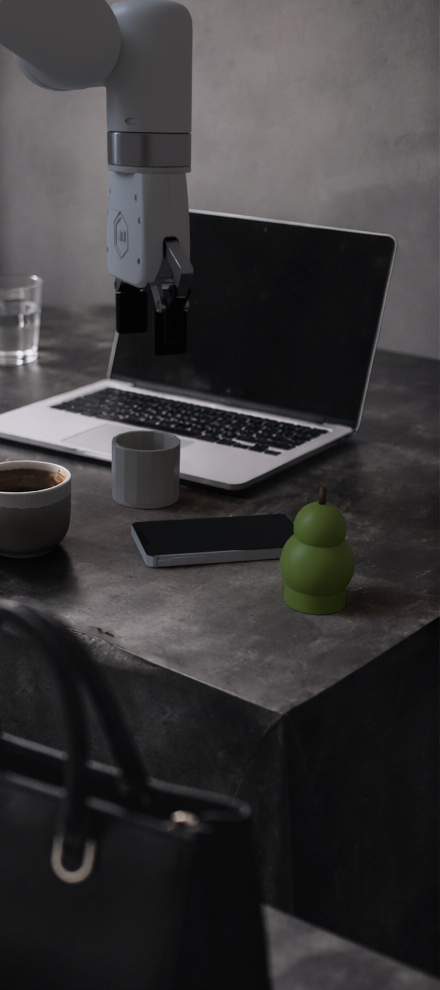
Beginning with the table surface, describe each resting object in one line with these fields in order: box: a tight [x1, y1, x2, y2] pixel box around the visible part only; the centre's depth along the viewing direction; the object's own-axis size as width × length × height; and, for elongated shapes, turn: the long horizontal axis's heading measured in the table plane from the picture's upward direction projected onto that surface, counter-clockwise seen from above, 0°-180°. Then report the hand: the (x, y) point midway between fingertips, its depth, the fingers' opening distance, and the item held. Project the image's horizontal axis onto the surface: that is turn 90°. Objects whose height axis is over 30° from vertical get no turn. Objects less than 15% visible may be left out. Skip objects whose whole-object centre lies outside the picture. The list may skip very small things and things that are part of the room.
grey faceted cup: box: [111, 429, 182, 510], centre depth 99 cm, size 7×7×6 cm
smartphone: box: [130, 513, 294, 568], centre depth 89 cm, size 8×1×15 cm
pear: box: [279, 485, 356, 616], centre depth 78 cm, size 6×6×10 cm
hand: (149, 342), depth 94 cm, fingers open, 9 cm apart
